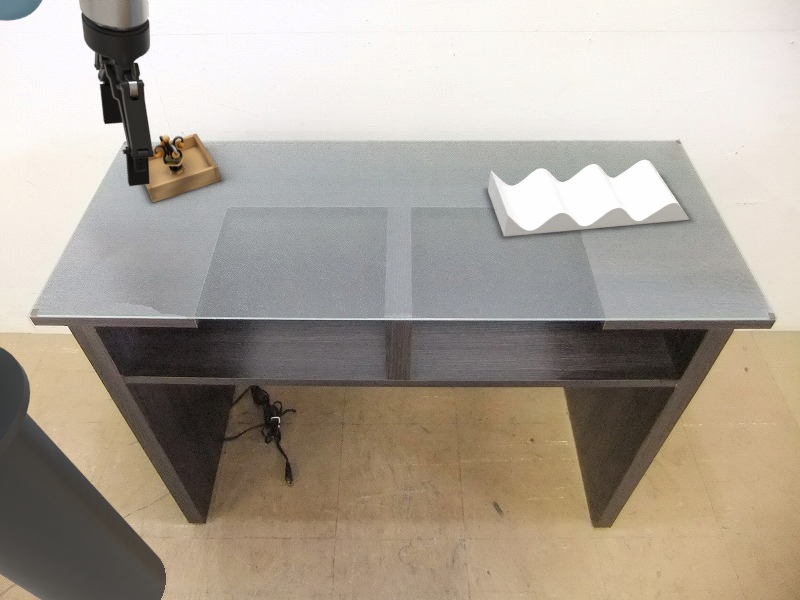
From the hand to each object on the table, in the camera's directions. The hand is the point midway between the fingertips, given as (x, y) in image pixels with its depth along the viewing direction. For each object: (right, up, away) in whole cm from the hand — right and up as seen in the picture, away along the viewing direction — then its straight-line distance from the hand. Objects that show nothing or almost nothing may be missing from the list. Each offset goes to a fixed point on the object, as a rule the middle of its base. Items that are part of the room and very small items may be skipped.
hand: (125, 151), depth 88 cm
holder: (-4, +4, +33) cm, 33 cm away
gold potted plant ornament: (-4, +4, +32) cm, 33 cm away
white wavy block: (+76, -4, +25) cm, 80 cm away
